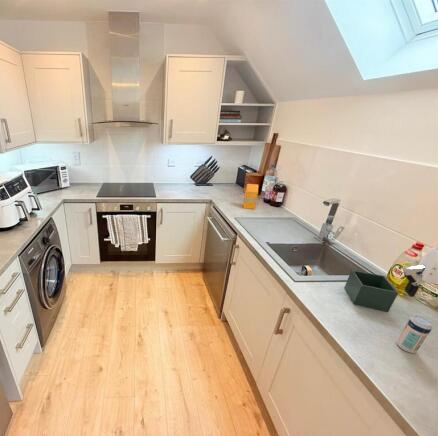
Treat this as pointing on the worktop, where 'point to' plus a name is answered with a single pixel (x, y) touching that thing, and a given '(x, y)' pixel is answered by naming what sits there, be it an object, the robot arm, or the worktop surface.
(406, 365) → the worktop surface
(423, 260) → the robot arm
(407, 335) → the white and teal cylinder
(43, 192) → the worktop surface
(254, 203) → the orange juice
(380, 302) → the waste bin
